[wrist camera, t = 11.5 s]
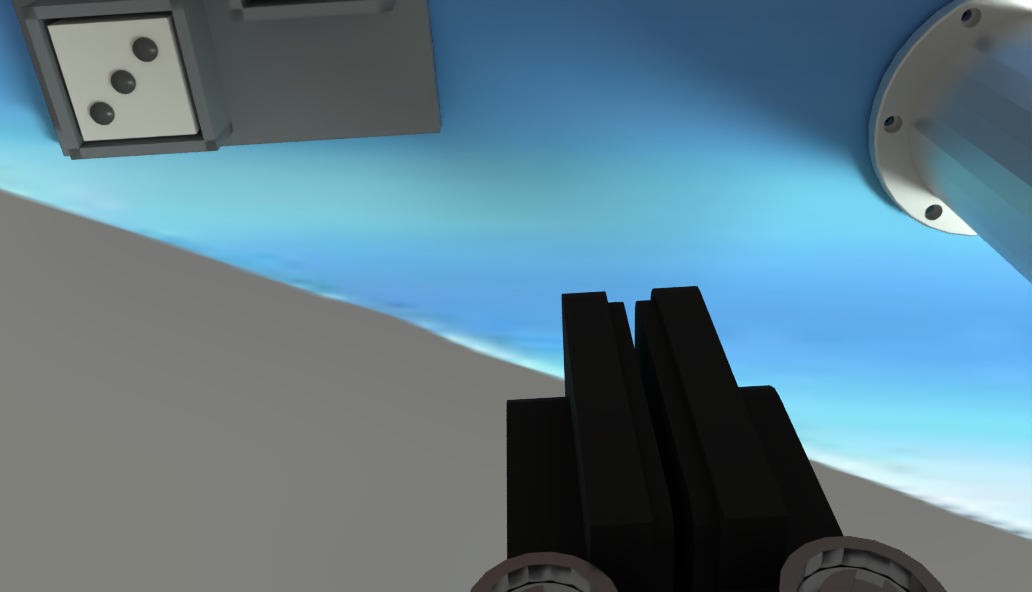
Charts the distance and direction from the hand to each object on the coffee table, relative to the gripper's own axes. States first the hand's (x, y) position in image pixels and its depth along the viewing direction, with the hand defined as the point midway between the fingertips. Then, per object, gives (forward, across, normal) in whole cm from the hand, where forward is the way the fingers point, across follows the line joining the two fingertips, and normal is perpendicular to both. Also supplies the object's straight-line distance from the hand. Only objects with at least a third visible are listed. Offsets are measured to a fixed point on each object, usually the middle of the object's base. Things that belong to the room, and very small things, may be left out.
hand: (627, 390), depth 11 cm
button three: (+30, +18, +3) cm, 35 cm away
